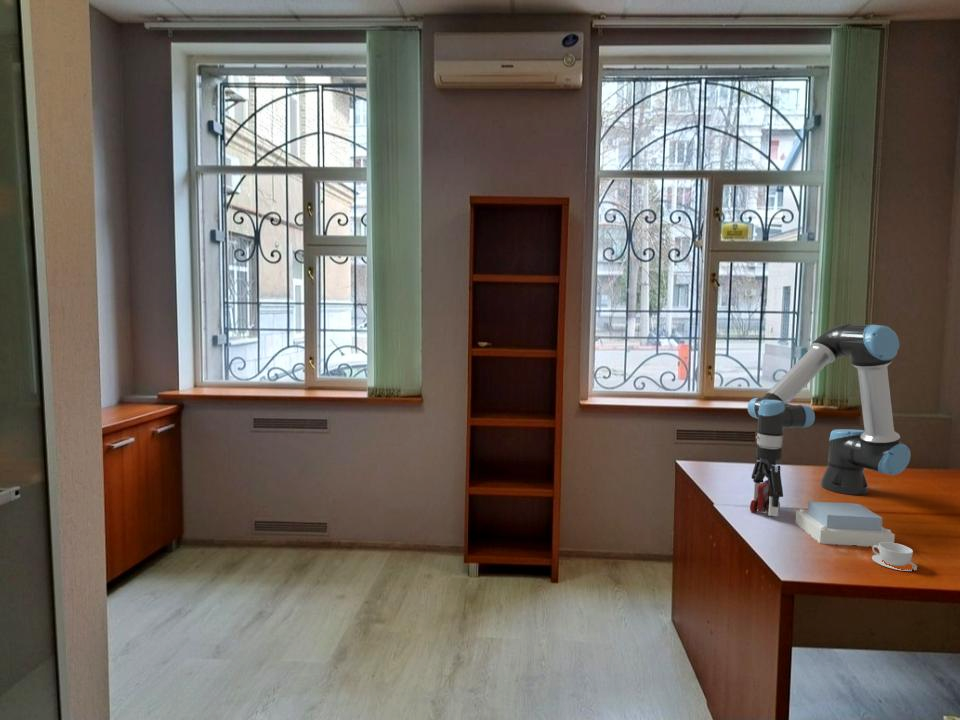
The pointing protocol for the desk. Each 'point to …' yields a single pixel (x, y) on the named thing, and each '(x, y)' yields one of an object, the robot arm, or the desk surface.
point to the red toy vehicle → (762, 499)
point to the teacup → (893, 555)
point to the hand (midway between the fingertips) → (764, 508)
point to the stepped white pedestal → (843, 524)
